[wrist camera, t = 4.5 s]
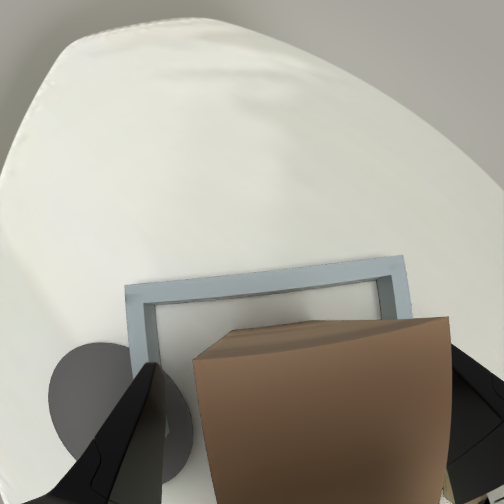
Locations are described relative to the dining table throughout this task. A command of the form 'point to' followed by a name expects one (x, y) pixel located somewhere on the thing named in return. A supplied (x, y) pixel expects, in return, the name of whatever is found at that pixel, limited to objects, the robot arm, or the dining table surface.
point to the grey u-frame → (255, 284)
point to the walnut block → (328, 412)
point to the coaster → (109, 401)
